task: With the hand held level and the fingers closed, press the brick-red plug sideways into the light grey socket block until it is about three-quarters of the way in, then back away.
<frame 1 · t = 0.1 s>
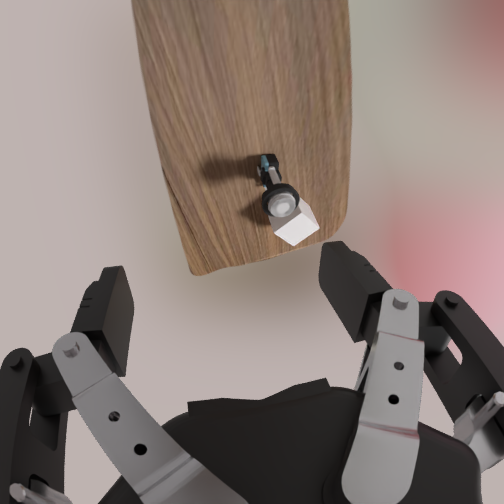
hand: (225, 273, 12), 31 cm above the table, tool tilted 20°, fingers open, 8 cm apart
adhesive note: (287, 206, 54), on the table
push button: (265, 168, 46), on the table
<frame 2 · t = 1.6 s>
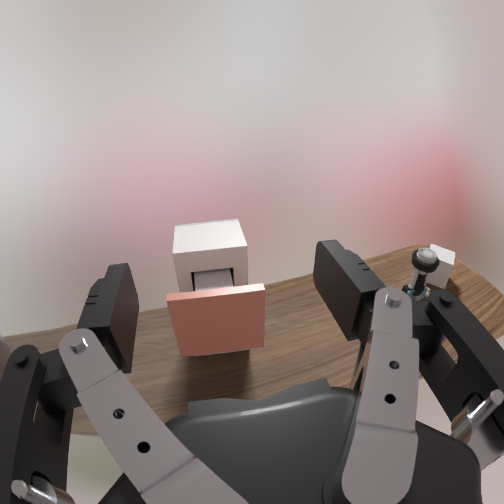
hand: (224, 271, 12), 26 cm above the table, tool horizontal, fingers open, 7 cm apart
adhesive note: (433, 278, 54), on the table
plug: (215, 302, 31), point 12 cm above the table, slide at 0.0 cm
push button: (414, 298, 49), on the table
socket block: (221, 353, 40), on the table
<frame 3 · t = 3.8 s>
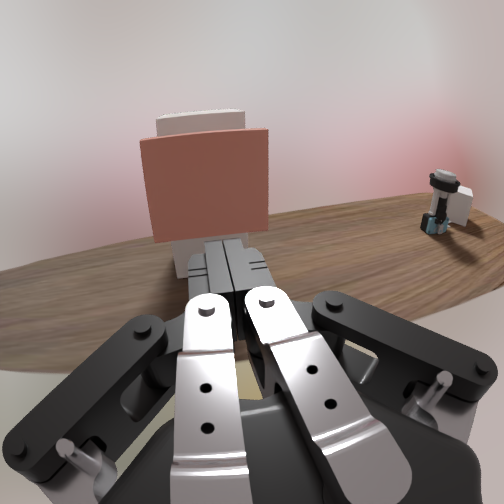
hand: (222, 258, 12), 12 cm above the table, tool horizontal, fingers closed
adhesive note: (451, 218, 47), on the table
plug: (204, 174, 24), point 12 cm above the table, slide at 0.0 cm
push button: (436, 231, 42), on the table
socket block: (213, 274, 32), on the table
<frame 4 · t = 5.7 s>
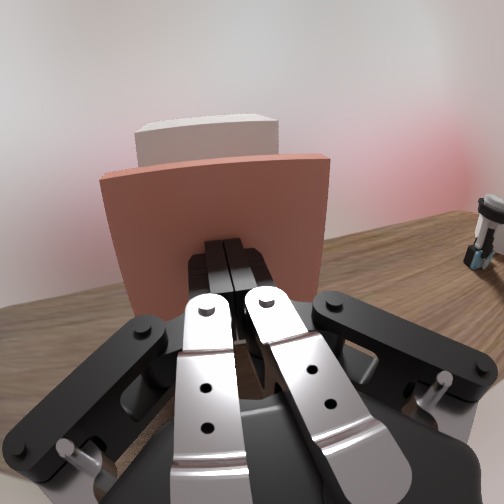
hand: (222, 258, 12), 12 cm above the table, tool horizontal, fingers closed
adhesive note: (489, 244, 38), on the table
plug: (215, 221, 16), point 12 cm above the table, slide at 0.8 cm, touching gripper
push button: (479, 265, 33), on the table
socket block: (225, 346, 23), on the table
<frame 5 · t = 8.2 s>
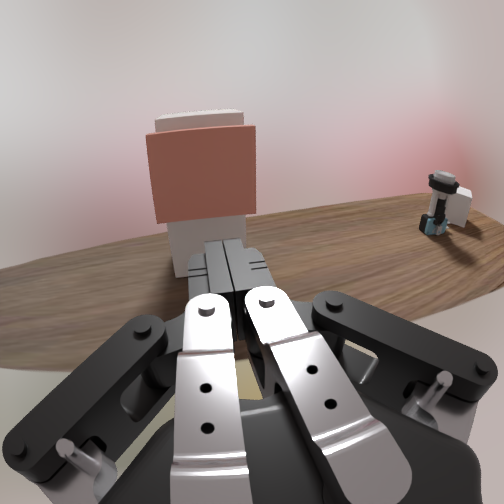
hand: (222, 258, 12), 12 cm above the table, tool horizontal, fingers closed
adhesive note: (450, 219, 47), on the table
plug: (201, 165, 27), point 12 cm above the table, slide at 3.6 cm
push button: (434, 232, 42), on the table
socket block: (211, 273, 33), on the table
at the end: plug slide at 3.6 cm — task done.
